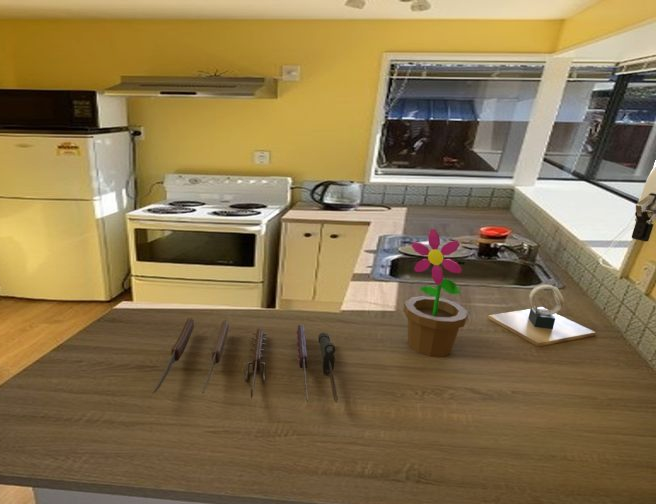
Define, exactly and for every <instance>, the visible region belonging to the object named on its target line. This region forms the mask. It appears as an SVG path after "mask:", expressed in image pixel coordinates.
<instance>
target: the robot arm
mask: <svg viewBox="0 0 656 504" xmlns="http://www.w3.org/2000/svg"><path fill="white" fill-rule="evenodd" d="M634 215H635V218H634V221H635V224H634V226H633V231H632V233H631V234H632V235H631V239H633V240H638V241H641V242H649V241H650V237H651V235H652V231H653V228H654V223H653V222H654V221H655V220H656V161H655V162H654V165H653V167H652V169H651V171H650V172H649V175H648V177H647V179H646V181H645V183H644V185H643V188H642V191H641V193H640V196H639V200H638V201H637V203H636V204H635V212H634ZM649 215H650V216H649Z"/></svg>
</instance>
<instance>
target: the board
mask: <svg viewBox="0 0 656 504" xmlns="http://www.w3.org/2000/svg"><path fill="white" fill-rule="evenodd" d="M530 309H531V308H527V309H521V310H514V311H508V312H501V313H495V314H489V315H488V317H487V319H488V320H490V321H492V322H494V323H495V324H497V325H499V326H501V327H503V328H504V329H506V330H508V331H510V332H511V333H513V334H515V335H517V336H518V337H520V338H522V339H524V341H525V340H526V341H527V342H529V343H530V344H532V345H534V346H536V347H543V346H549V345H553V344H558V343H565V342H568V341H573V340H579V339H584V338H589V337H594V336H596V333H597V332H596V331H594V330H592V329H590V328H588V327H586V326H583V325H581V324H579V323H577V322H575V321H572V320H570V319H568V318H566V317H564V316H562V315H560V314H557V313H555V314H552V315H553V316H554V317H555V322H554V326H553V329H547V328H539V327H534V325H533V324H532V322H531V321H530V320H529V318H528V317H529V313H530ZM537 309H545V310H548V309H547V308H545V307H543V306H539V307H537Z"/></svg>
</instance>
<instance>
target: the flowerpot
mask: <svg viewBox="0 0 656 504" xmlns="http://www.w3.org/2000/svg"><path fill="white" fill-rule="evenodd" d="M427 238H428V246H429V247H430V249H431V250H430V249H429V247H428V246H427V245H426V244H424V243H422V242H419V241H417V242H416V241H413V242H412V243H411V247H412V249H413V250H414V252H416V253H417V254H418V255H421V256H427V258H423V259H421V260H419V261H418V262H416V264H415V266H414V268H413V270H414V272H415V273H422V272H424V271H426V270H428V269H430V267H431V265H433V266H432V269H431V276H432V277H431V278H432V280H433V281H434V283H435V285H436V288H435V287H433V286H429V285H427V286H421V287H420V290H421V291H422V292H424V293H425V294H426V295H417V296H412V297H409V298H407V299H406V301H405V302H404V303H403V313H404V315H405V317H406V318H407V343H408V345H409V347H410V348H411V350H413V351H415V352H416V353H418V354H420V355H421V354H422V355H424V356H428V357H435V358H436V357H437V358H441V357H446V356H449V355H450V354H451V353H452V351H453V348H454V345H455V342H456V339H457V336H458V333H459V330H460V329H461V328H464V327H465V325H466V324H467V321H468V315H469V312H468V311H467V309H466V308H465V307H464V306H463V305H461V304H459V303H457V302H455V301H454V300H453V301H452V300H450V299H446V298H442V297H441V289H443V290H444V291H445V292H446V293H448V294H451V295H459V294H460V292H461V291H460V290H459V289H460V288H459V287H458V286H457V284H456V282H454V281H453V280H451V279H450V278H444V271H443V268H444V269H445V270H447V271H449V272H450V273H452V274H461V273H462V271H463V269H462V267H461V266H460V265H459V262H456V261H455V260H453V259H451V258H445V257H444V256H450V255H452V254H453V253H455V252H456V251H457V250H458V248H459V247H460V244H461V243H460V242H459V241H458V240H452V241H451V240H450V241H449V242H446V243H445V244H444V245H442V247H441V249H439V246H440V245H441V242H440V234H439V233H438V232H437V230H436V229H435V228H432V229H430V231H429V233H428V236H427Z"/></svg>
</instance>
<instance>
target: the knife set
mask: <svg viewBox="0 0 656 504" xmlns="http://www.w3.org/2000/svg"><path fill="white" fill-rule="evenodd" d="M186 319H187V320H186V321H185V323H184V325H183V328H182V330H181V332H180V334H179V336H178V337H177V340H176V342H175V343H174V345H173V346H172V348H171V350H170V353H171V354H170V355H171V356H170V358H169V361H168V362H167V365H166V367H165V369H164V371H163V373H162V375H161V376H160V378H159V380H158V382H157V384H156V386H155V387H154V389H153V391H152V394H151V395H153V394H155V393H156V392H157V391H159V389H160V388H161V386H162V384H163V383H164V382H165V379H166V378H167V375H169V372H170V369H171V368H172V366H173V364H175V362H178V361H180V358H181V357H182V355H183V354H184V352H185V349H186V348H187V345H188V343H189V340H190V338H191V335H192V333H193V331H194V329H195V328H194V327H195V326H194V325H195V324H194V322H195V321H194V318H189V317H188V318H186ZM305 329H306V328H305V325H303V324H298V325H297V329H296V339H297V340H296V343H297V357H298V359H297V361H298V367H299V368H300V369H302V371H303V382H304V383H303V384H304V391H305V392H304V393H305V400H306V402H309V395H308V384H307V372H306V369H307V367H308V362H309V360H308V351H307V341H306V330H305ZM228 333H229V321H228V320H222V321H221V323H220V327H219V331H218V333H217V334H218V335H217V338H216V342H215V344H214V346H213V349H212V351H211V364H210V368H209V371H208V373H207V377H206V380H205V382H204V386H203V389H202V391H201V393H202V394H204V393H205V391H206V389H207V386H208V383H209V380H210V378H211V376H212V375H211V374H212V371H213V368H214V365H216V364H219V363H220V361H221V358H222V356H223V352H224V349H225V345H226V340H227V337H228ZM253 335H254V336H255V337H251V339H252V340H255V341H254V342H250V345H254V348H250V349H249V350H250V351H253V354H252V355H248V357H249V358H252V360H250V361H247V363H246V370H245V371H246V372H245V377H244V378H245V379H244V382H248V381H249V375H250V365H252V367H251V369H252V371H253V379H252V386H251V389H250V398H251V399H253V397H254V392H255V391H254V390H255V385H256V384H255V383H256V378H257V377H256V376H257V375H256V374H257V372H260V370H261V366H262V372H261V373H262V374H261V382H262V384H263V383H265V380H266V367H267V366H266V363H265V362H263V361H262V359H264V358H266V356H264V355H262V353H263V352H267V349H263V346H267V345H268V344H267V343H265V342H264V341H267V340H268V339H267V338H264V336H268V334H266V333H265V332H264V329H263V328H257V329H256V332H255V333H253ZM330 339H331V338H330V335H329V334H328V333H327V332H321V333H320V334H319V335H318V344H319V345H320V352H321V359H322V372H323V375H328V376H329V379H330V380H329V381H330V386H331V392H332V398H333V402H334V403H335V404H338V403H339V397H338V393H337V387H336V382H335V381H336V380H335V377H334V368H335V361H336V360H335V353H336V350H337V349H336V345H335V344H334V343H333V342H331V340H330Z"/></svg>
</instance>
